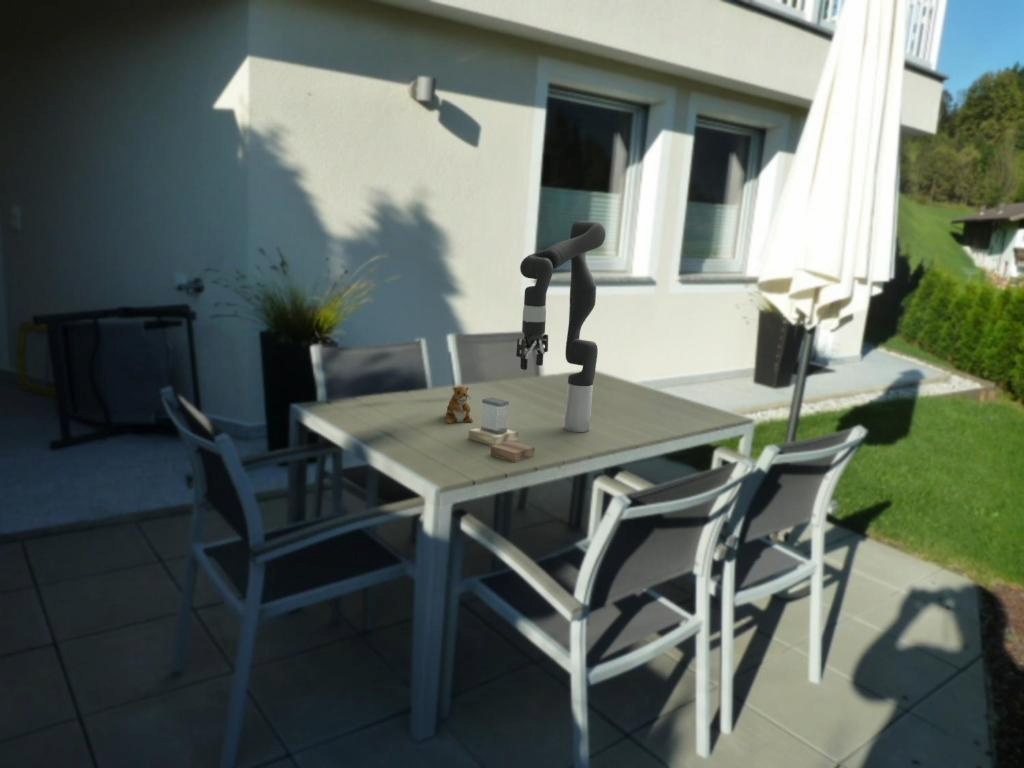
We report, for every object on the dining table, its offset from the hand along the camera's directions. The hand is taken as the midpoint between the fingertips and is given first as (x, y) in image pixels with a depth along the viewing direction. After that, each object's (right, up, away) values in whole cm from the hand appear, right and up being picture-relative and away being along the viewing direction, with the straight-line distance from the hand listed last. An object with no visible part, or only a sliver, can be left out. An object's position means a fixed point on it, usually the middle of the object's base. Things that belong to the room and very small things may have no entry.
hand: (531, 367), depth 250 cm
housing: (-13, -22, +10) cm, 27 cm away
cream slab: (-13, -25, +11) cm, 30 cm away
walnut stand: (-6, -29, -6) cm, 30 cm away
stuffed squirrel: (-27, -19, +34) cm, 47 cm away
